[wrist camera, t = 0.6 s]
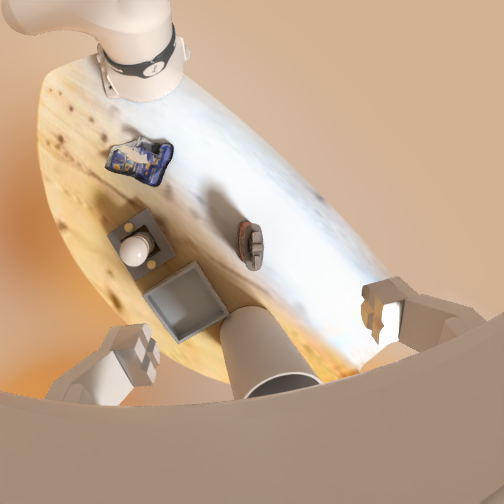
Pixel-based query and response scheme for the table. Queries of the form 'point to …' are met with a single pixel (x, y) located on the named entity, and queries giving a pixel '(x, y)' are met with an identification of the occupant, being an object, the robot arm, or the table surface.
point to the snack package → (143, 172)
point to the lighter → (250, 245)
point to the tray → (186, 302)
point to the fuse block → (156, 232)
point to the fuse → (137, 248)
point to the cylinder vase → (261, 355)
